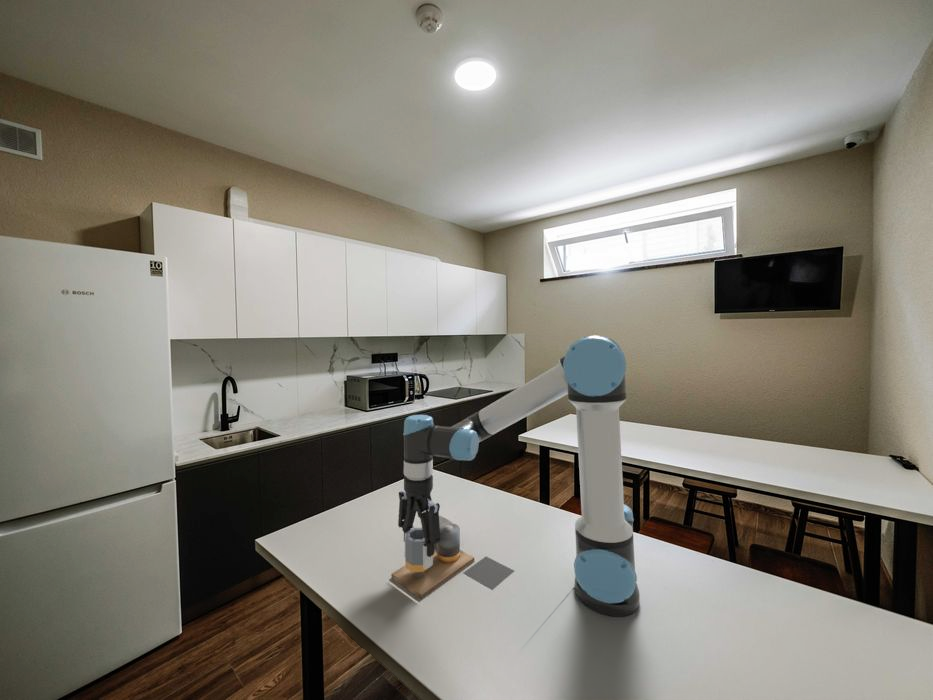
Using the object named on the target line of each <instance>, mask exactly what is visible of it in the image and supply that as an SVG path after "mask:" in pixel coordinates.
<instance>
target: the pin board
mask: <svg viewBox="0 0 933 700" xmlns="http://www.w3.org/2000/svg"><path fill="white" fill-rule="evenodd" d="M460 529H461V528H460V526H459V525H458V524H456V523H453V522H452V523H444V524H441V525H440V542H438V543H437V547H435V548H434V555H433V565H432V566H431V567H430V568H428V569H427V570H425V571H424V572H411V571H410V570H408V569H407V568H405V565H403V566H402V567H400V568H398V569H396V570H395V571H394V572H392V573H391V579H393V581H395V582H397V583H398V584H399V585H401V586H402V587H403V588H405V589H406V590H408V591H409V592H411V593H412V594H414V595H415V596H416V597H417V598H419V599H420V600H423V599H424V598H426V597H427V596H428V595H430V594H431V593H433V592H434V591H436V589H438V588H439V587H442V585H444V584H445V583H446V582H448V581H449V580H451V579H452V578H454V577H455V576H457V575H458V574H460V573H461V572H462V571H463V570H465V569H466V568H468V567H469V566H470V565H472V563H474V562H475V556H473V555H470V554H469V553H467V552H465V551H463V550H461V535H460V534H461V530H460Z"/></svg>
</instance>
